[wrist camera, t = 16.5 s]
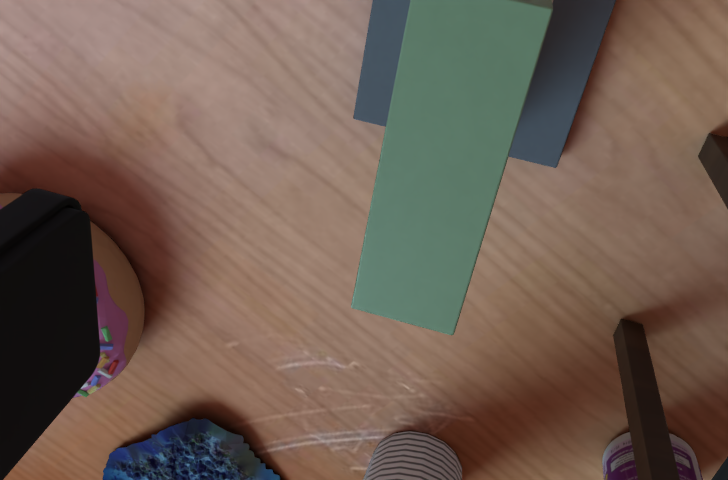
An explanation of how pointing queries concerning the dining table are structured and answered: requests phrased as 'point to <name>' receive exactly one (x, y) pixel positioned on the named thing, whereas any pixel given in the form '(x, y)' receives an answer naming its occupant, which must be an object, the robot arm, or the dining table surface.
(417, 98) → the green book
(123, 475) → the rock
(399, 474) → the cup
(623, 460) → the pill bottle
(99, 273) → the donut
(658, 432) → the rack
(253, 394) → the dining table surface
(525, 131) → the mat
